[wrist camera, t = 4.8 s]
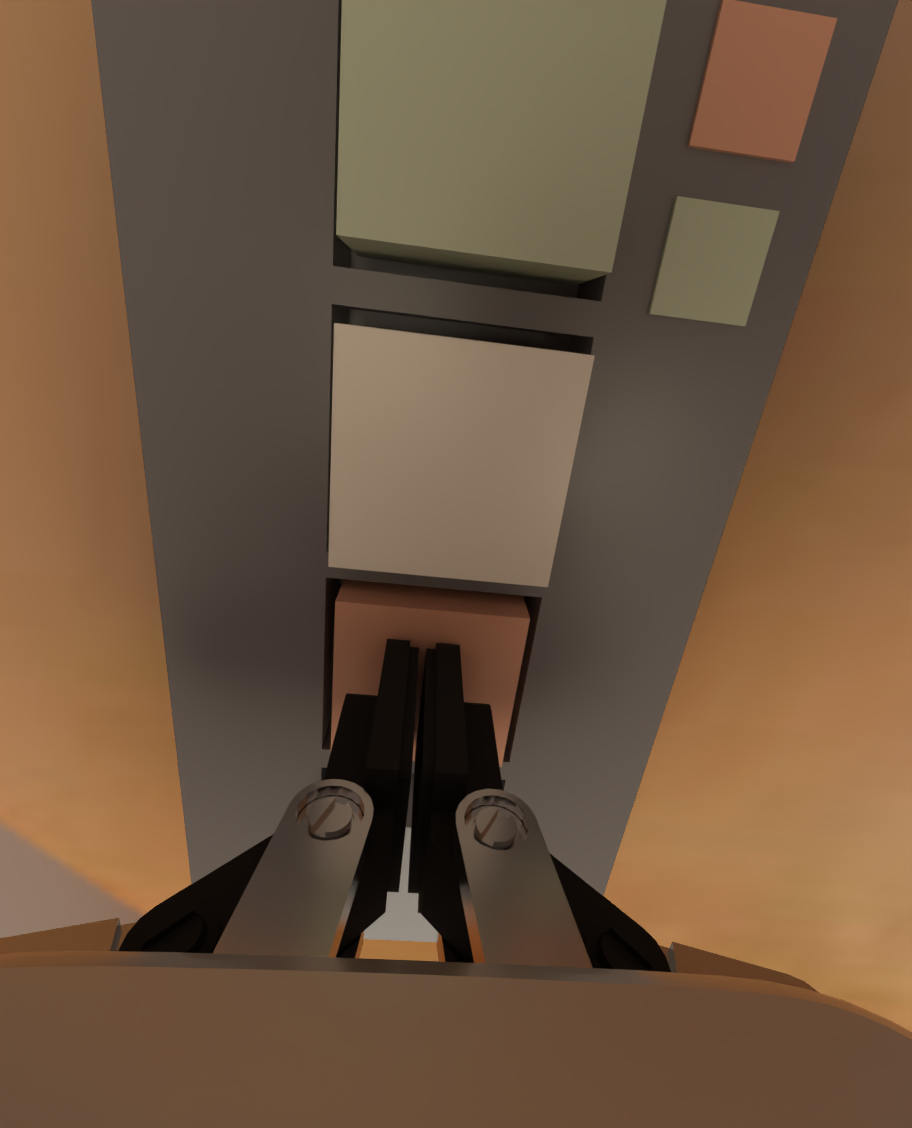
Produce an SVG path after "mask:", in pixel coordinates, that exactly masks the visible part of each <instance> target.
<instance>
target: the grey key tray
mask: <svg viewBox="0 0 912 1128" xmlns="http://www.w3.org/2000/svg"><path fill="white" fill-rule="evenodd" d="M91 2H92V10H93V19H94V28H95V37H96V46H97V55H98V63H99V72H100V81H101V90H102V99H103V107H104V116H105V125H106V134H107V143H108V151H109V160H110V169H111V178H112V187H113V195H114V204H115V213H116V222H117V231H118V239H119V248H120V257H121V266H122V275H123V284H124V292H125V301H126V310H127V319H128V328H129V336H130V345H131V354H132V363H133V372H134V380H135V389H136V398H137V407H138V416H139V424H140V433H141V442H142V451H143V460H144V468H145V477H146V486H147V495H148V504H149V513H150V521H151V530H152V539H153V548H154V557H155V565H156V574H157V583H158V592H159V601H160V609H161V618H162V627H163V636H164V645H165V653H166V662H167V671H168V680H169V689H170V697H171V706H172V715H173V724H174V733H175V742H176V750H177V759H178V768H179V777H180V786H181V794H182V803H183V812H184V821H185V830H186V838H187V847H188V856H189V865H190V874H191V882H192V884H193V883H194V882H196V881H198V880H199V879H201V878H203V877H204V876H206V875H207V874H209V873H211V872H212V871H214V870H216V869H217V868H219V867H220V866H222V865H224V864H225V863H227V862H229V861H230V860H232V859H233V858H235V857H237V856H238V855H240V854H242V853H243V852H245V851H247V850H248V849H250V848H251V847H253V846H255V845H256V844H258V843H260V842H261V841H263V840H264V839H266V838H268V837H269V836H271V835H273V834H274V832H275V831H276V829H277V827H278V825H279V823H280V821H281V819H282V817H283V815H284V813H285V811H286V809H287V807H288V805H289V803H290V802H291V801H292V799H293V798H294V797H295V795H296V794H297V793H298V792H300V791H301V790H302V789H304V788H305V787H306V786H308V785H311V784H313V783H315V782H318V781H322V780H324V776H325V773H326V769H327V765H328V761H329V757H330V753H331V723H332V690H333V657H334V624H335V601H336V598H337V595H338V593H339V590H340V588H341V585H342V583H343V580H344V579H348V580H359V581H370V582H381V583H391V584H402V585H413V586H424V587H435V588H446V589H456V590H467V591H478V592H489V593H500V594H511V595H522V596H523V598H524V601H525V604H526V607H527V610H528V613H529V617H530V622H529V628H528V633H527V638H526V643H525V648H524V653H523V659H522V664H521V669H520V674H519V679H518V685H517V690H516V695H515V700H514V705H513V710H512V716H511V721H510V726H509V731H508V736H507V742H506V747H505V752H504V757H503V762H502V767H500V773H501V780H502V787H503V791H505V792H509V793H511V794H513V795H515V796H517V797H518V798H520V799H522V800H523V801H524V802H525V803H526V804H527V805H528V806H529V807H530V808H531V810H532V812H533V813H534V815H535V817H536V819H537V822H538V824H539V827H540V829H541V832H542V835H543V837H544V840H545V843H546V845H547V848H548V851H549V853H550V854H551V855H553V856H554V857H555V858H556V859H558V860H559V861H560V862H561V863H563V864H564V865H565V866H566V867H568V868H569V869H570V870H571V871H573V872H574V873H575V874H576V875H578V876H579V877H580V878H581V879H583V880H584V881H585V882H586V883H588V884H589V885H590V886H591V887H593V888H594V889H595V890H596V891H598V892H599V893H600V894H601V895H602V896H603V895H604V892H605V889H606V886H607V883H608V879H609V876H610V873H611V870H612V867H613V864H614V861H615V858H616V855H617V852H618V849H619V846H620V843H621V840H622V837H623V834H624V831H625V828H626V825H627V822H628V819H629V816H630V813H631V810H632V807H633V804H634V801H635V798H636V795H637V791H638V788H639V785H640V782H641V779H642V776H643V773H644V770H645V767H646V764H647V761H648V758H649V755H650V752H651V749H652V746H653V743H654V740H655V737H656V734H657V731H658V728H659V725H660V722H661V719H662V716H663V713H664V710H665V707H666V703H667V700H668V697H669V694H670V691H671V688H672V685H673V682H674V679H675V676H676V673H677V670H678V667H679V664H680V661H681V658H682V655H683V652H684V649H685V646H686V643H687V640H688V637H689V634H690V631H691V628H692V625H693V622H694V619H695V615H696V612H697V609H698V606H699V603H700V600H701V597H702V594H703V591H704V588H705V585H706V582H707V579H708V576H709V573H710V570H711V567H712V564H713V561H714V558H715V555H716V552H717V549H718V546H719V543H720V540H721V537H722V534H723V531H724V527H725V524H726V521H727V518H728V515H729V512H730V509H731V506H732V503H733V500H734V497H735V494H736V491H737V488H738V485H739V482H740V479H741V476H742V473H743V470H744V467H745V464H746V461H747V458H748V455H749V452H750V449H751V446H752V443H753V439H754V436H755V433H756V430H757V427H758V424H759V421H760V418H761V415H762V412H763V409H764V406H765V403H766V400H767V397H768V394H769V391H770V388H771V385H772V382H773V379H774V376H775V373H776V370H777V367H778V364H779V361H780V358H781V355H782V351H783V348H784V345H785V342H786V339H787V336H788V333H789V330H790V327H791V324H792V321H793V318H794V315H795V312H796V309H797V306H798V303H799V300H800V297H801V294H802V291H803V288H804V285H805V282H806V279H807V276H808V273H809V270H810V267H811V263H812V260H813V257H814V254H815V251H816V248H817V245H818V242H819V239H820V236H821V233H822V230H823V227H824V224H825V221H826V218H827V215H828V212H829V209H830V206H831V203H832V200H833V197H834V194H835V191H836V188H837V185H838V182H839V179H840V175H841V172H842V169H843V166H844V163H845V160H846V157H847V154H848V151H849V148H850V145H851V142H852V139H853V136H854V133H855V130H856V127H857V124H858V121H859V118H860V115H861V112H862V109H863V106H864V103H865V100H866V97H867V94H868V91H869V88H870V84H871V81H872V78H873V75H874V72H875V69H876V66H877V63H878V60H879V57H880V54H881V51H882V48H883V45H884V42H885V39H886V36H887V33H888V30H889V27H890V24H891V21H892V18H893V15H894V12H895V9H896V6H897V3H898V0H667V1H666V6H665V11H664V16H663V21H662V26H661V31H660V36H659V41H658V46H657V51H656V56H655V61H654V66H653V71H652V75H651V80H650V85H649V90H648V95H647V100H646V105H645V110H644V115H643V120H642V125H641V130H640V135H639V140H638V145H637V150H636V155H635V159H634V164H633V169H632V174H631V179H630V184H629V189H628V194H627V199H626V204H625V209H624V214H623V219H622V224H621V229H620V234H619V238H618V243H617V248H616V253H615V258H614V263H613V268H612V273H609V274H606V275H603V276H600V277H598V278H595V279H592V280H589V281H586V282H583V283H581V284H578V285H569V284H562V283H554V282H547V281H539V280H532V279H524V278H517V277H510V276H502V275H495V274H487V273H480V272H472V271H465V270H457V269H450V268H443V267H435V266H428V265H420V264H413V263H405V262H398V261H390V260H383V259H376V258H368V257H361V256H358V255H357V254H356V253H355V252H354V251H353V250H352V249H351V248H350V247H349V246H347V245H346V244H345V243H344V242H343V241H342V240H341V239H340V238H339V237H338V236H337V235H336V223H337V182H338V140H339V99H340V57H341V15H342V0H91ZM334 323H340V324H350V325H359V326H367V327H375V328H383V329H391V330H399V331H407V332H415V333H423V334H431V335H439V336H447V337H455V338H463V339H471V340H479V341H487V342H495V343H503V344H511V345H519V346H527V347H535V348H543V349H551V350H559V351H566V352H573V353H580V354H587V355H594V356H595V357H594V362H593V367H592V372H591V377H590V382H589V387H588V392H587V397H586V402H585V406H584V411H583V416H582V421H581V426H580V431H579V436H578V441H577V446H576V451H575V456H574V461H573V466H572V471H571V476H570V481H569V485H568V490H567V495H566V500H565V505H564V510H563V515H562V520H561V525H560V530H559V535H558V540H557V545H556V550H555V555H554V560H553V565H552V569H551V574H550V579H549V584H548V587H539V586H528V585H518V584H507V583H496V582H486V581H475V580H464V579H454V578H443V577H432V576H422V575H411V574H400V573H390V572H379V571H368V570H358V569H347V568H336V567H328V556H329V515H330V473H331V431H332V390H333V348H334ZM414 766H415V761H412V773H411V774H414Z"/></svg>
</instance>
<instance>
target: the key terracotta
mask: <svg viewBox="0 0 912 1128" xmlns="http://www.w3.org/2000/svg"><path fill="white" fill-rule="evenodd" d="M529 622H530V617H529V613H528V610H527V607H526V604H525V601H524V598H523V596H522V595H511V594H500V593H489V592H478V591H467V590H456V589H446V588H435V587H424V586H413V585H402V584H391V583H381V582H370V581H359V580H348V579H344V580H343V583H342V585H341V588H340V590H339V593H338V595H337V598H336V601H335V624H334V657H333V690H332V723H331V749H332V745H333V741H334V737H335V734H336V730H337V726H338V722H339V718H340V714H341V710H342V706H343V702H344V699H345V696H346V694H347V693H350V694H363V695H376V696H378V690H379V684H380V678H381V672H382V666H383V660H384V654H385V648H386V642H387V639H397V640H409V641H410V647H418V648H419V660H418V677H417V694H416V711H415V727H414V744H413V760H412V761H415V750H416V739H417V730H418V721H419V712H420V703H421V693H422V684H423V675H424V666H425V657H426V649H427V648H430V649H435V647H436V643H445V644H457V645H460V654H461V668H462V682H463V696H464V702H469V703H483V704H490V706H491V710H492V717H493V724H494V731H495V738H496V745H497V752H498V759H499V766H500V767H502V762H503V757H504V752H505V747H506V742H507V736H508V731H509V726H510V721H511V716H512V710H513V705H514V700H515V695H516V690H517V685H518V679H519V674H520V669H521V664H522V659H523V653H524V648H525V643H526V638H527V633H528V628H529Z"/></svg>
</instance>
